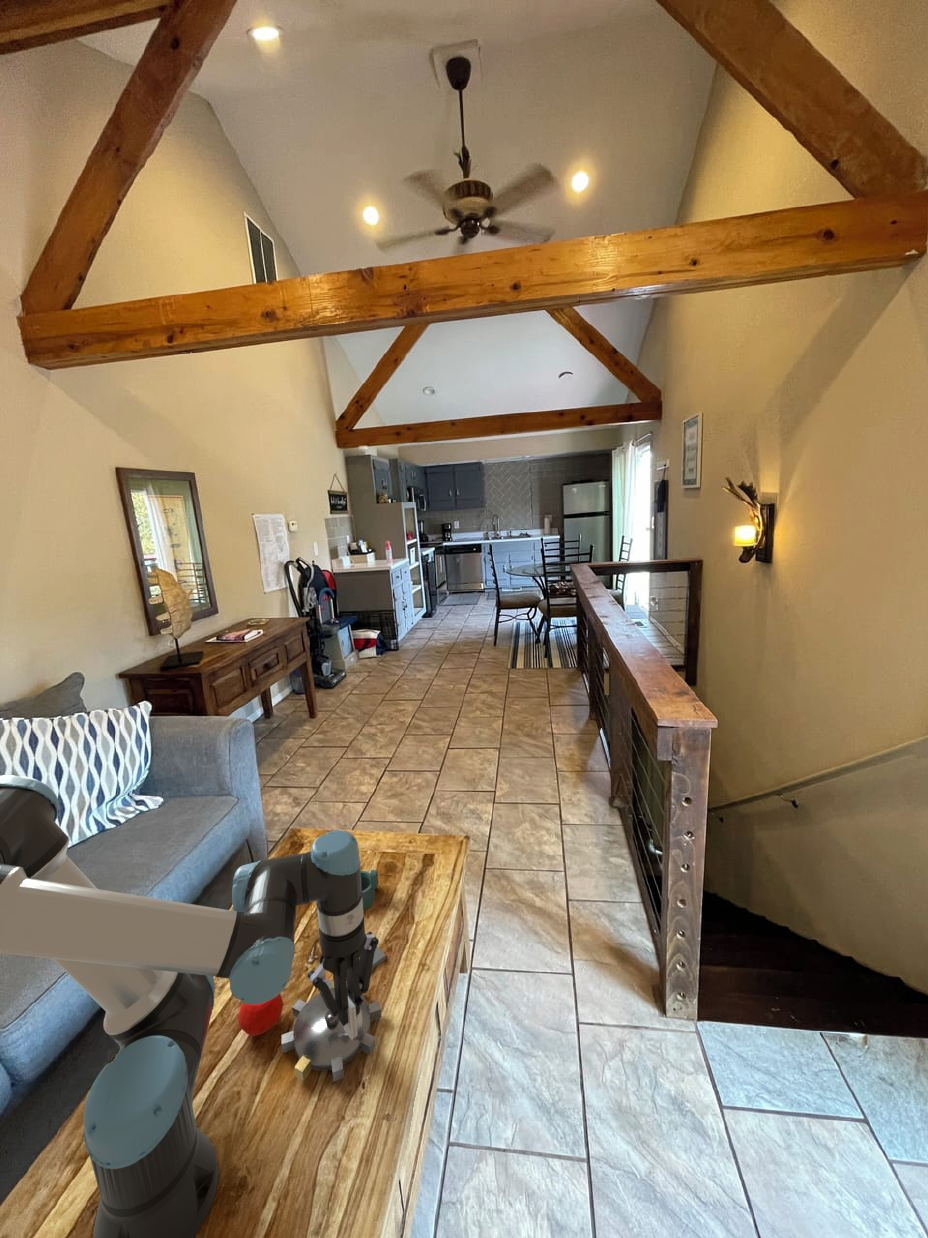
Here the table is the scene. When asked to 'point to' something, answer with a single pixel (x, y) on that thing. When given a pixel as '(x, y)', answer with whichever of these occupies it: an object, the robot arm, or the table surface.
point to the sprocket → (327, 1037)
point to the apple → (260, 1016)
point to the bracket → (369, 887)
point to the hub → (331, 1019)
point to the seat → (377, 957)
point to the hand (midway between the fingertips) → (350, 1032)
